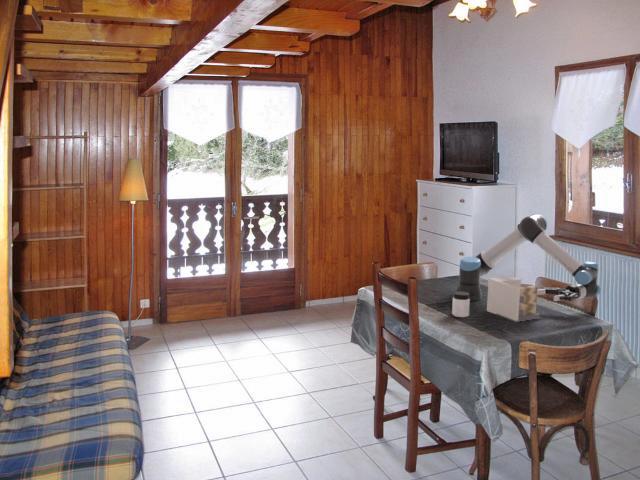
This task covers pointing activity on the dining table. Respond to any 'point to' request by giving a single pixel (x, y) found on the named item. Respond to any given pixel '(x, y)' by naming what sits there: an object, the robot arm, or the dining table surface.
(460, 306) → the jar
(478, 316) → the dining table surface
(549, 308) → the dining table surface
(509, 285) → the cabinet
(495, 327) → the dining table surface
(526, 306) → the tan patterned box
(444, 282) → the dining table surface
